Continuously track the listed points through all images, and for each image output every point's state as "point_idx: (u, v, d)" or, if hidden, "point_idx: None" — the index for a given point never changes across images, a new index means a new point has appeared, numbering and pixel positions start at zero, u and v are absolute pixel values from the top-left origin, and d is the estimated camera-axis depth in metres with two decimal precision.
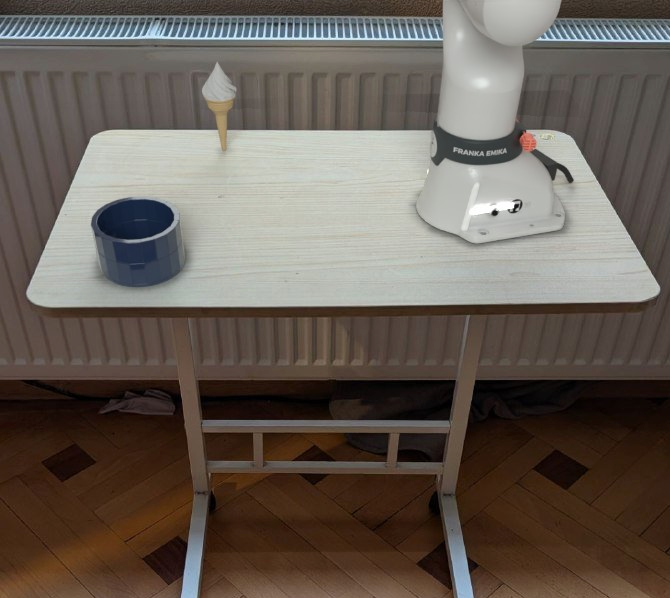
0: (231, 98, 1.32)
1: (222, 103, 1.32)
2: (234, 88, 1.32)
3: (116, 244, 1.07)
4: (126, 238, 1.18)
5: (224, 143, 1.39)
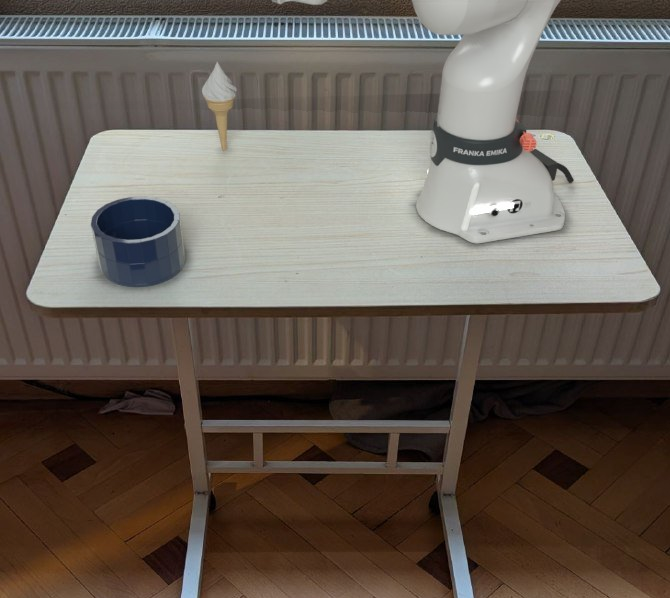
0: (231, 98, 1.32)
1: (222, 103, 1.32)
2: (234, 88, 1.32)
3: (116, 244, 1.07)
4: (126, 238, 1.18)
5: (224, 143, 1.39)
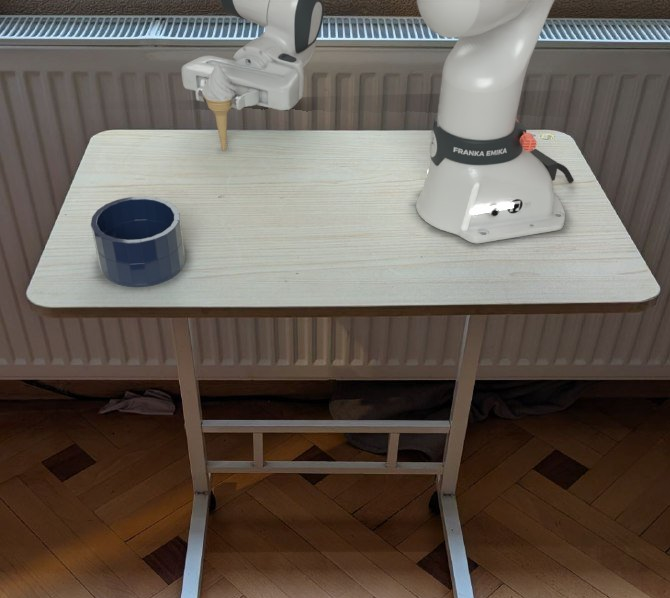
0: None
1: (222, 103, 1.32)
2: (234, 88, 1.32)
3: (116, 244, 1.07)
4: (126, 238, 1.18)
5: (224, 143, 1.39)
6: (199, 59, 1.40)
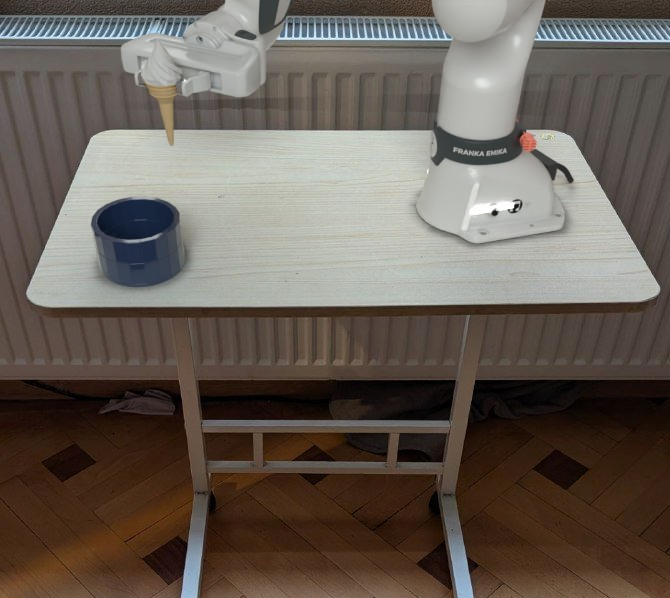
0: (176, 82, 1.10)
1: (165, 88, 1.10)
2: (180, 70, 1.10)
3: (116, 244, 1.07)
4: (126, 238, 1.18)
5: (171, 136, 1.17)
6: (142, 37, 1.18)
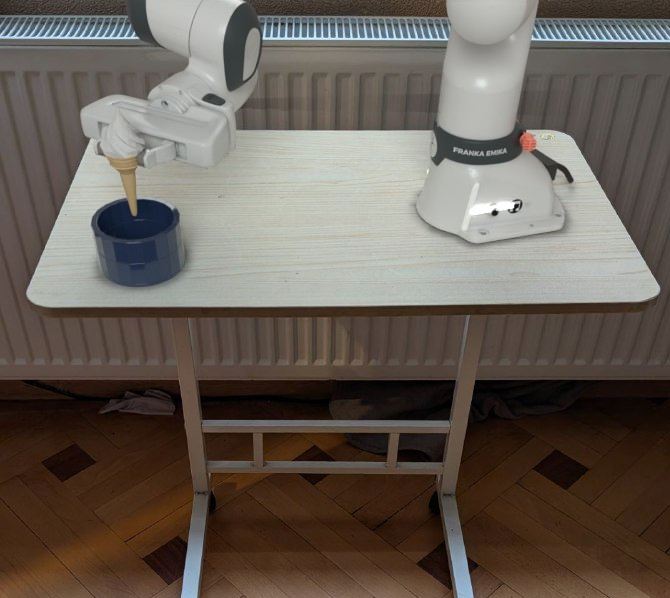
0: (137, 154, 1.03)
1: (126, 160, 1.03)
2: (141, 141, 1.03)
3: (116, 244, 1.07)
4: (126, 238, 1.18)
5: (134, 207, 1.09)
6: (104, 100, 1.11)
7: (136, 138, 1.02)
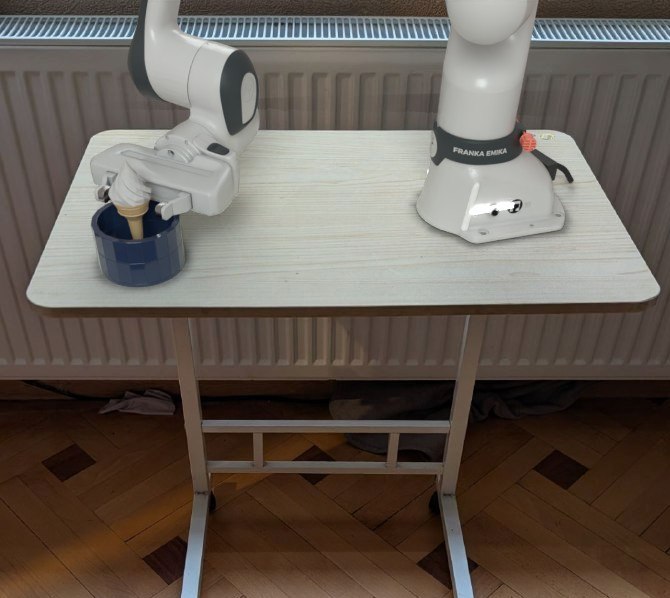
0: (144, 202, 1.08)
1: (133, 208, 1.08)
2: (148, 189, 1.08)
3: (116, 244, 1.07)
4: (126, 238, 1.18)
5: None
6: (113, 149, 1.16)
7: (143, 187, 1.07)
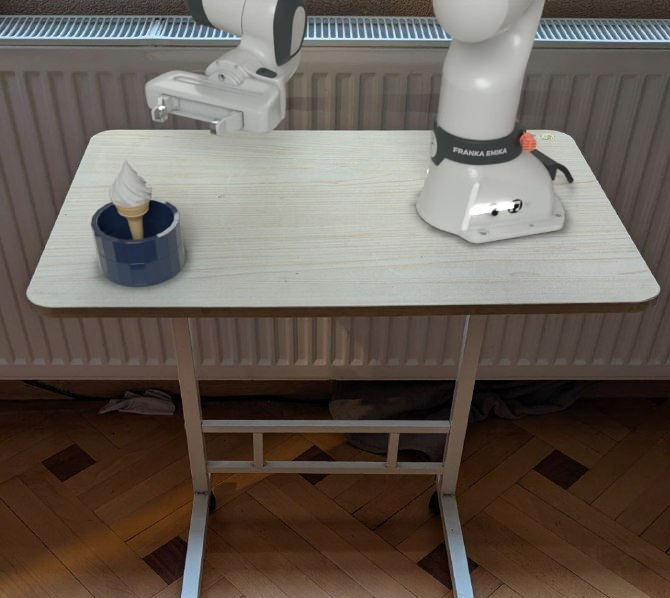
0: (144, 202, 1.08)
1: (133, 208, 1.08)
2: (148, 190, 1.08)
3: (116, 244, 1.07)
4: (126, 238, 1.18)
5: None
6: (166, 74, 1.22)
7: (143, 187, 1.07)
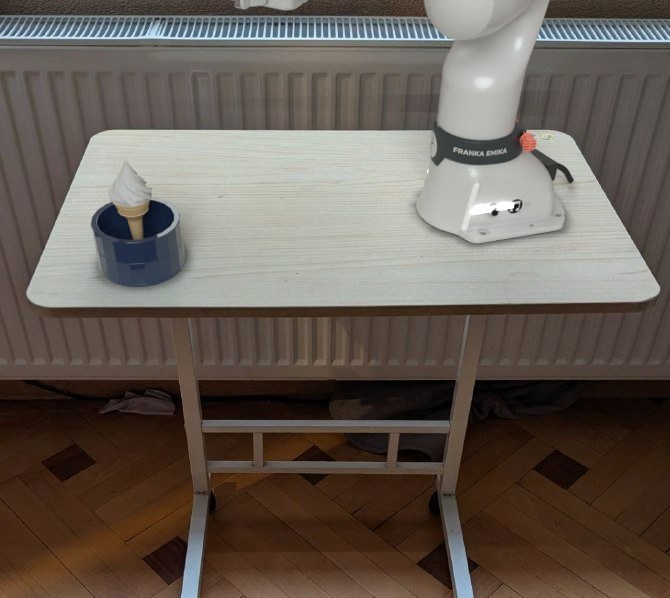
0: (144, 202, 1.08)
1: (133, 208, 1.08)
2: (148, 190, 1.08)
3: (116, 244, 1.07)
4: (126, 238, 1.18)
5: None
6: None
7: (143, 187, 1.07)
